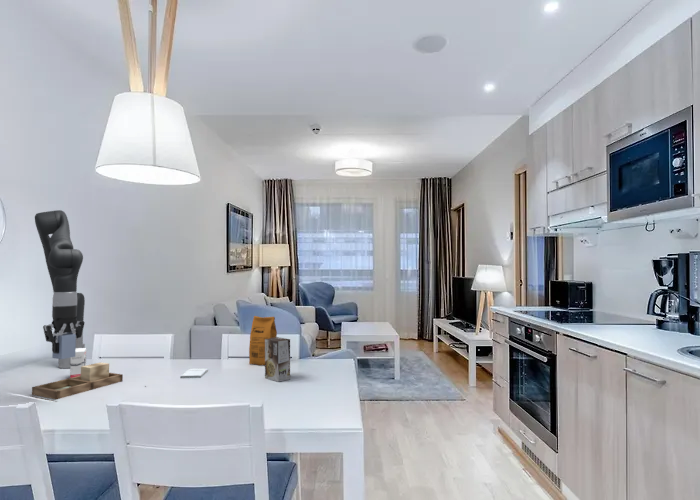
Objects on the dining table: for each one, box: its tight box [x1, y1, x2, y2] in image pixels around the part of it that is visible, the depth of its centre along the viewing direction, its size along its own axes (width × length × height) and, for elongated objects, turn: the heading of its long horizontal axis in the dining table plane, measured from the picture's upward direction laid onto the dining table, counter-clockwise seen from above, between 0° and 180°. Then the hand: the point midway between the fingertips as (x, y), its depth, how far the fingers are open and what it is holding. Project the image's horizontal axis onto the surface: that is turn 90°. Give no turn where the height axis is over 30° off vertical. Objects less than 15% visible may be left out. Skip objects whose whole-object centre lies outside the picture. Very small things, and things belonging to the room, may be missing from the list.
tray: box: [31, 372, 124, 403], centre depth 166 cm, size 26×13×3 cm, turn 156°
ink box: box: [69, 347, 87, 378], centre depth 182 cm, size 8×5×12 cm, turn 26°
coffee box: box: [264, 336, 291, 383], centre depth 182 cm, size 9×6×16 cm
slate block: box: [51, 333, 76, 360], centre depth 161 cm, size 5×5×8 cm
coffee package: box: [248, 315, 278, 366], centre depth 210 cm, size 10×12×22 cm
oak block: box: [81, 361, 110, 382], centre depth 171 cm, size 8×5×7 cm, turn 156°
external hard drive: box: [179, 368, 209, 379], centre depth 189 cm, size 2×8×12 cm
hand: (63, 351), depth 161 cm, fingers closed on slate block, 5 cm apart
